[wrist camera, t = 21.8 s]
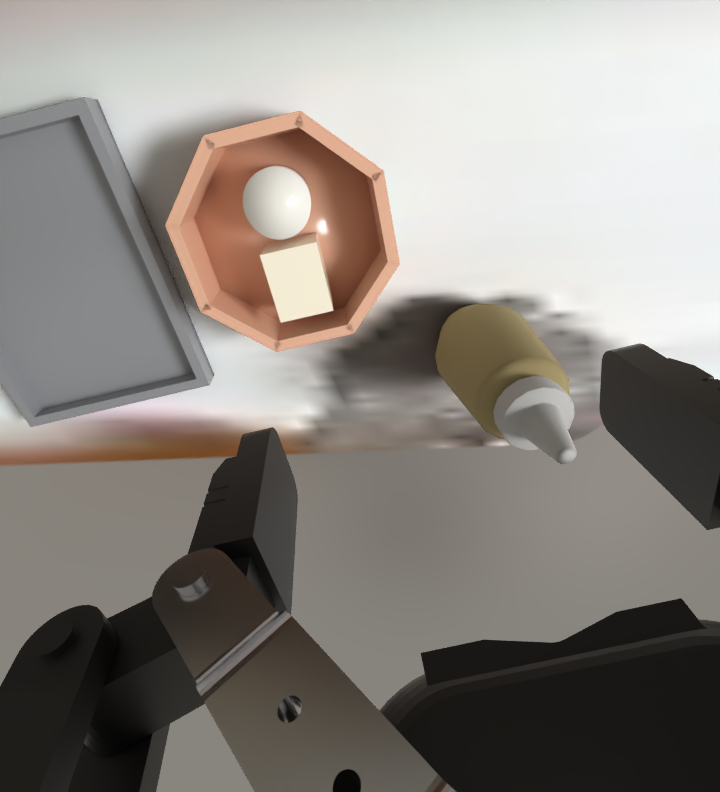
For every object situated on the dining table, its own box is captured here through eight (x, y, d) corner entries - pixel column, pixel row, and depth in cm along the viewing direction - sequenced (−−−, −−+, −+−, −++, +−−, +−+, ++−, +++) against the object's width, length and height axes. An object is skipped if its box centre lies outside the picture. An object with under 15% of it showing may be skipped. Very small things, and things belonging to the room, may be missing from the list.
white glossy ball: (242, 172, 32) (232, 176, 29) (302, 157, 32) (300, 159, 29) (261, 235, 35) (255, 246, 31) (318, 221, 34) (318, 230, 31)
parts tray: (-128, 158, 31) (-155, 159, 29) (97, 99, 30) (84, 97, 29) (43, 415, 41) (30, 427, 39) (214, 374, 41) (209, 385, 39)
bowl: (160, 151, 32) (135, 152, 28) (362, 99, 32) (369, 92, 27) (232, 340, 39) (222, 364, 35) (399, 300, 39) (409, 320, 34)
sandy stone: (265, 244, 35) (259, 255, 31) (316, 232, 35) (316, 241, 31) (284, 306, 37) (280, 322, 34) (332, 295, 37) (333, 310, 34)
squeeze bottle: (510, 372, 43) (621, 503, 27) (425, 379, 43) (488, 517, 27) (520, 286, 39) (656, 383, 23) (426, 294, 39) (500, 397, 23)
